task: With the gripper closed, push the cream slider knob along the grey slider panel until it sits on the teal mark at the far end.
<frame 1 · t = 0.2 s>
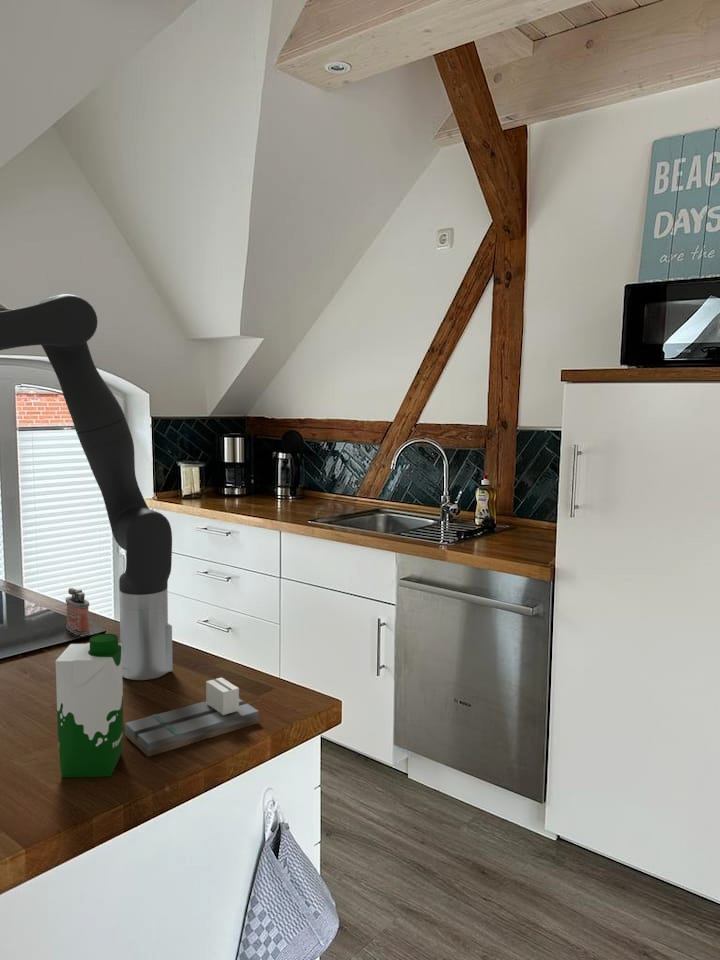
lighter: (78, 632, 177), on the counter
milk carton: (92, 767, 115), on the counter
slider knob: (222, 698, 131), point 4 cm above the counter, slide at -5.5 cm
slider panel: (193, 729, 128), on the counter
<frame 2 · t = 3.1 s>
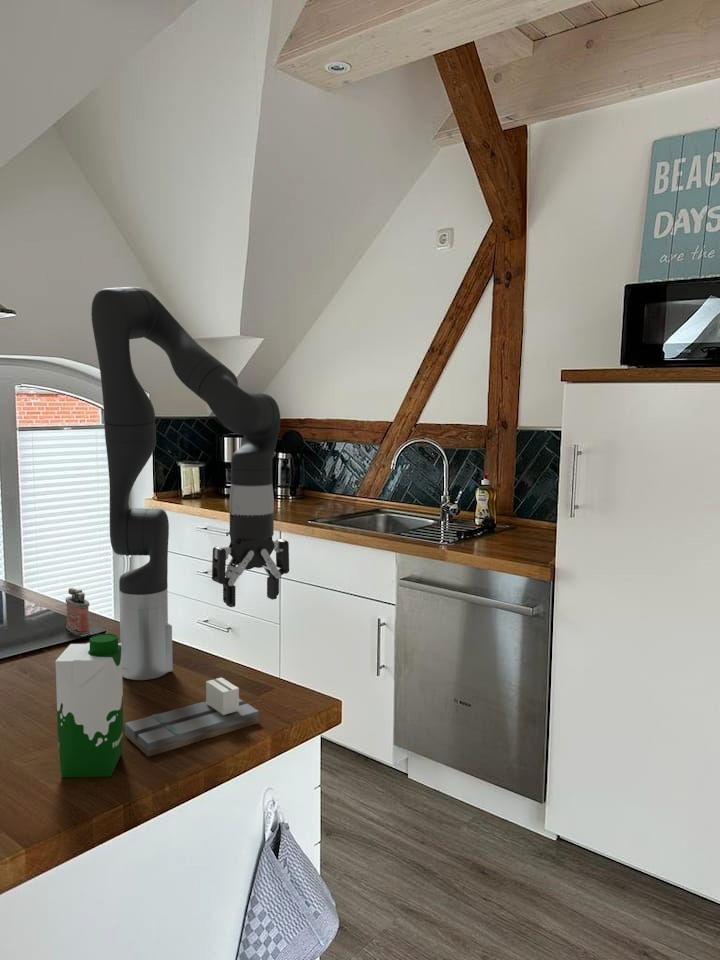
hand: (251, 602, 132), 20 cm above the counter, tool pointing down, fingers open, 8 cm apart
nothing on the counter moved.
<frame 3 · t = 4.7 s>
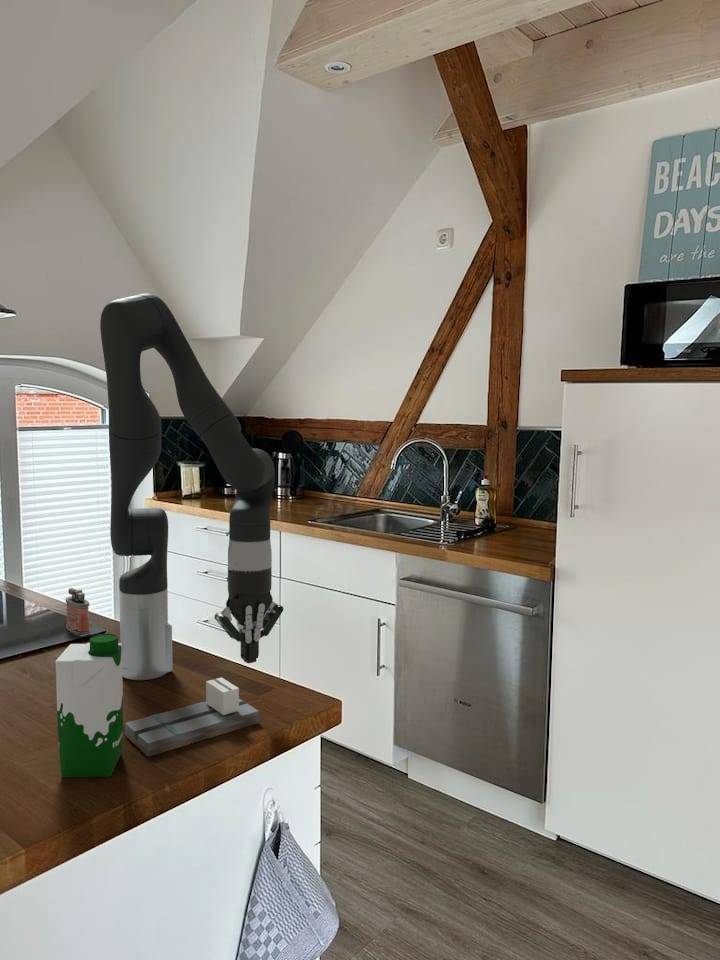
hand: (249, 661, 133), 10 cm above the counter, tool pointing down, fingers closed
nothing on the counter moved.
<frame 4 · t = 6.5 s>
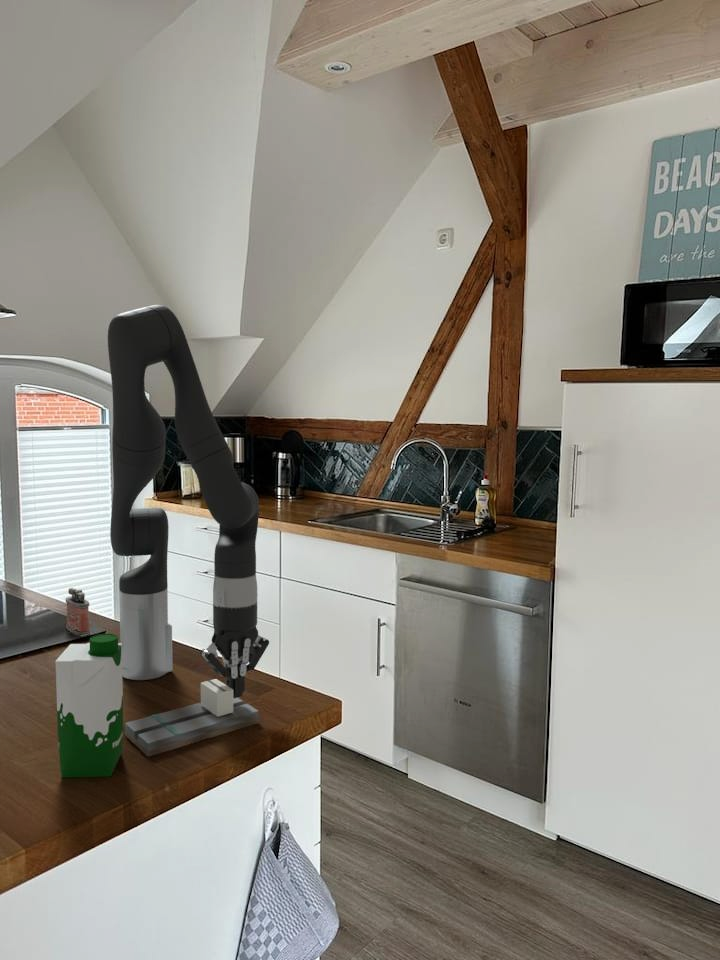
hand: (235, 696, 132), 4 cm above the counter, tool pointing down, fingers closed
slider knob: (216, 700, 130), point 4 cm above the counter, slide at -4.4 cm, touching gripper
everything else where it was.
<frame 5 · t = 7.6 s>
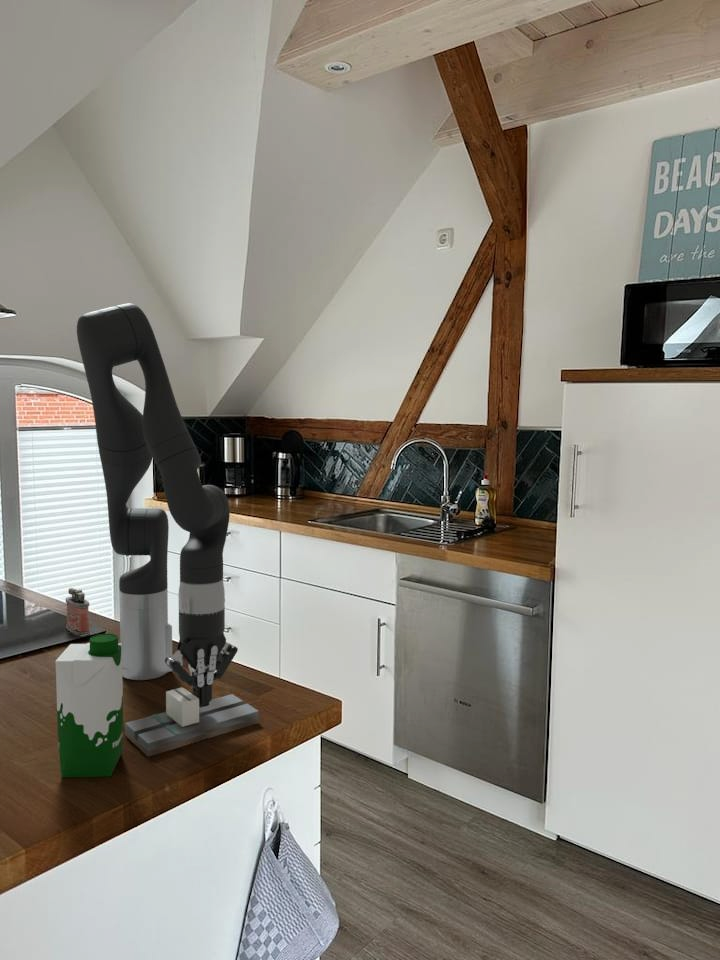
hand: (202, 705, 128), 4 cm above the counter, tool pointing down, fingers closed
slider knob: (182, 709, 126), point 4 cm above the counter, slide at 2.0 cm, touching gripper
everything else where it was.
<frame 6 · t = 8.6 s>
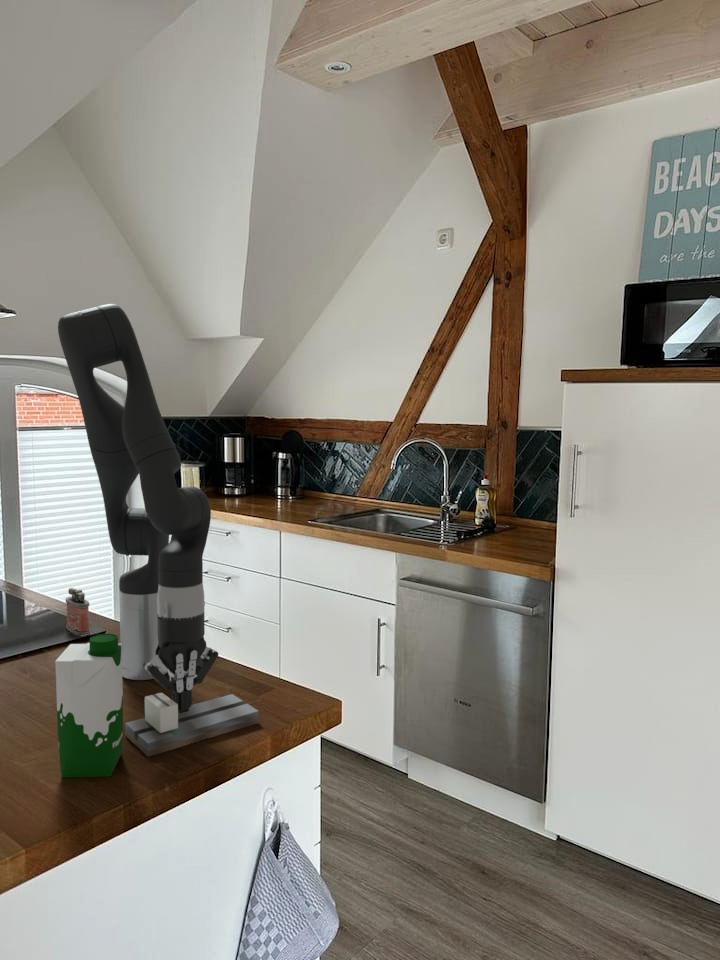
hand: (181, 710, 126), 4 cm above the counter, tool pointing down, fingers closed
slider knob: (161, 715, 124), point 4 cm above the counter, slide at 5.7 cm, touching gripper
everything else where it was.
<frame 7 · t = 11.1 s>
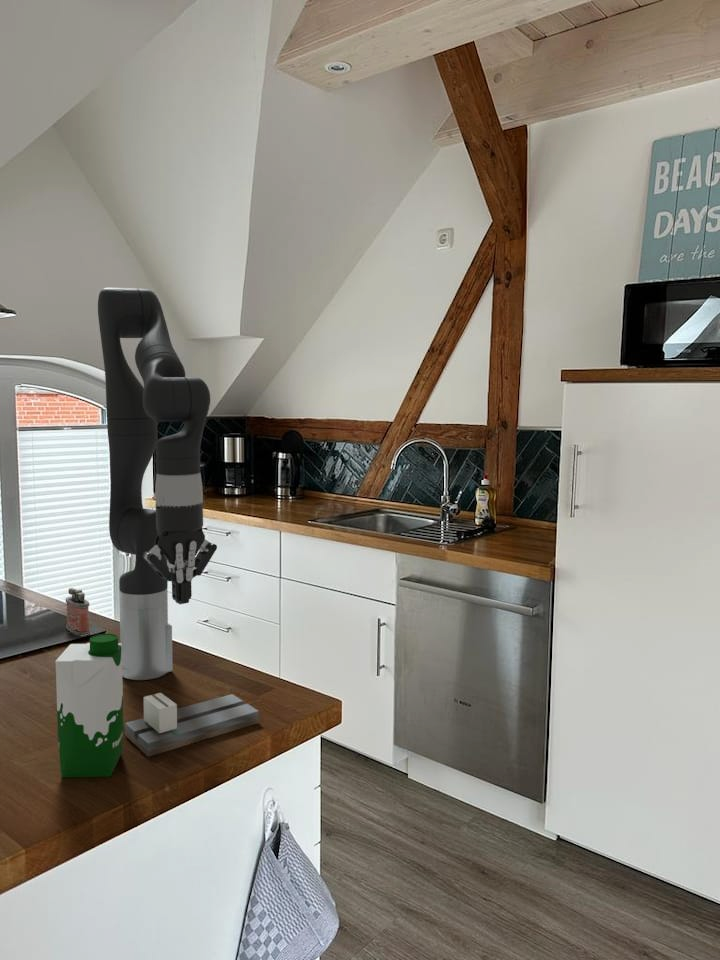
hand: (181, 602, 126), 21 cm above the counter, tool pointing down, fingers closed
slider knob: (160, 715, 123), point 4 cm above the counter, slide at 5.9 cm
everything else where it was.
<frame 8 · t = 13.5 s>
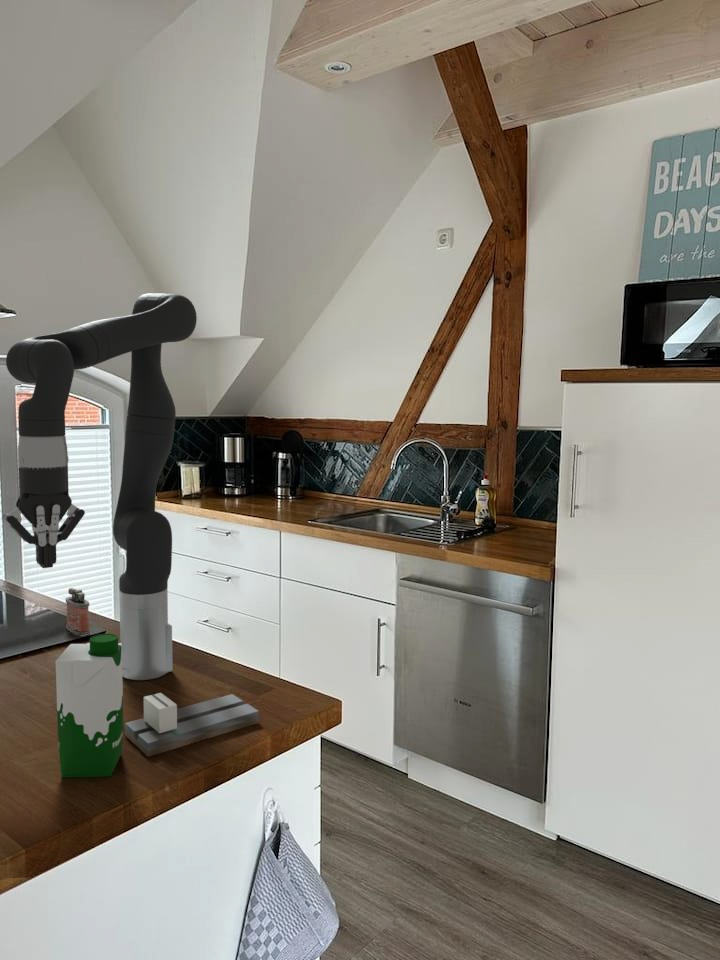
hand: (46, 566, 126), 27 cm above the counter, tool pointing down, fingers closed
nothing on the counter moved.
at the end: slider knob slide at 5.9 cm; milk carton moved 0.2 cm from its start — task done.
